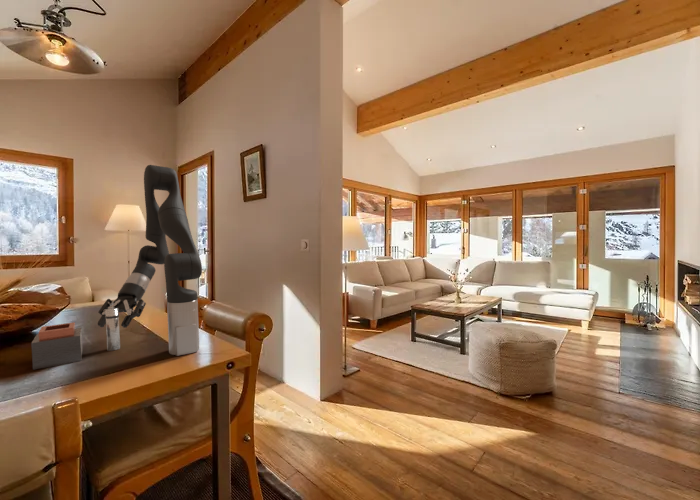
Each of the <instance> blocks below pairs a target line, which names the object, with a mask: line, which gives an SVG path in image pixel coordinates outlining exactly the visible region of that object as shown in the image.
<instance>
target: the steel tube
mask: <svg viewBox="0 0 700 500" xmlns="http://www.w3.org/2000/svg"><path fill="white" fill-rule="evenodd" d="M104 311H105V312H106V316H105V318H106V324H105V329H106V330H105V331H106V332H105V333H106V350H107V351H108V352H113V351H117V350H120V349H121V337H120V315H119V313H120V312H118V308H109V309H106V310H105V309H104Z"/></svg>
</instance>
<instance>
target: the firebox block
mask: <svg viewBox="0 0 700 500" xmlns="http://www.w3.org/2000/svg"><path fill="white" fill-rule="evenodd" d="M82 336H83V335H82V327H79V328H76V322H74V321H73V322H67V323H60V324H53V325H45V326H41V327H40V330H39V331H38V333H37V334H36V335H35V336H34V338H33V340H32V341H31V346H30V347H31V359H32V370H33V371H34V370H38V369H39V370H40V369H45V368H50V367H55V366H61V365H65V364H70V363H76V362H81V361H82V359H83V351H84V350H83V337H82Z"/></svg>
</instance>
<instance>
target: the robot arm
mask: <svg viewBox="0 0 700 500" xmlns="http://www.w3.org/2000/svg"><path fill="white" fill-rule="evenodd" d="M143 189H144V202H145V212H146V213H145V214H146V219H145V221H146V222H145V239H146V240H147V241H149V242H151V243H152V244H155V245H144V246H142V247H141V248H140V250H139V252H138V258H137V262H136V264H135V267H134V268H133V270H132V272H131V274H129V276H128V277H127V279H125V281H124V283H123V285H122V286H121V288H120V290H119V291H118V293H117V298H116V299H115V300H112V299H110V298H107V299H106V300H105V302H104V303H103V305H102V306H101V307H100V309H99V310H98V314H100V315H101V317H100V318H99V320H98V322H97V326H98V327H100V328H104V327H105V326H106V318H105V316H106V312H105V310H106V309H109V308H118V313H127V314H126V315H125V317H124V318H123V320H122V322H121V323H120V326H121V327H122V328H123V329H124V328H127V327H128V326H129V325H130V324H131V322H132V320H133V319H134V318H136V317H137V318H139V317H141V315H142V313H143V311H144V308H145V306H146V305H147V303H146V302H145V300H143V299H142V298H143V296H144V295H145V293H146V291H147V289H148V287H149V285H150V283H151V280H152V279H153V277H154V275H155V274H156V268H155V266H154V265H152V264H155V265H164V266H163V269H164V277H165V289H166V291H165V292H166V293H165V294H166V305H167V306H166V307H167V309H166V310H167V311H166V312H167V314H166V315H167V335H168V337H167V338H168V353H169V354H170V355H172V356H174V355H175V356H177V357H178V356H184V355H188V354H192V353H197V352H198V350H200V334H199V333H200V332H199V331H200V330H199V327H200V326H199V303H198V302H199V299H198V293H197V290H194V289H189V288H186V287H183V286H181V285H180V283H179V282H181V281H182V282H183V281H190V280H197V279H199V278H200V277H202V273H203V266H202V261H201V258H200V254H199V252H198V250H197V247H196V244H195V242H194V239H193V236H192V231H191V228H190V224H189V219H188V216H187V211H186V209H185V206H184V202H183V199H182V196H181V190H180V183H179V177H178V174H177V171H176V170H175V169H174V168H172V167H167V166H161V165H160V166H159V165H156V164H155V165H154V164H153V165H152V164H148V165H146V166H145V169H144V172H143ZM155 191H165V192H168V196H167V197H166V199H165V200H164V201H163V203H162V204H161V205H160V206H159V204H158V203H157V200H156V198H155V197H156V196H155ZM166 237H168V238H169V239H170V240H171V241H172V242H174V243H175V244H176V245H177V246H178V247H179V248H180V249H181V250H182V252H183V253H182V252H178V253H170V252H169V247H168V243H167V238H166Z"/></svg>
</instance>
